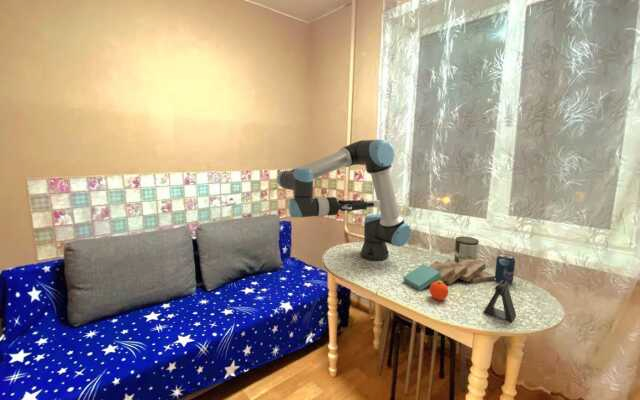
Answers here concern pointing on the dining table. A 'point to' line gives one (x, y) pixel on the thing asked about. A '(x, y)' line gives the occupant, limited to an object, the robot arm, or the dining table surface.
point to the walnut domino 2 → (458, 271)
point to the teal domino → (422, 277)
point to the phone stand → (507, 303)
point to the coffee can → (466, 248)
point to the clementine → (438, 290)
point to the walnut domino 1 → (443, 271)
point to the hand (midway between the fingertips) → (379, 203)
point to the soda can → (505, 268)
